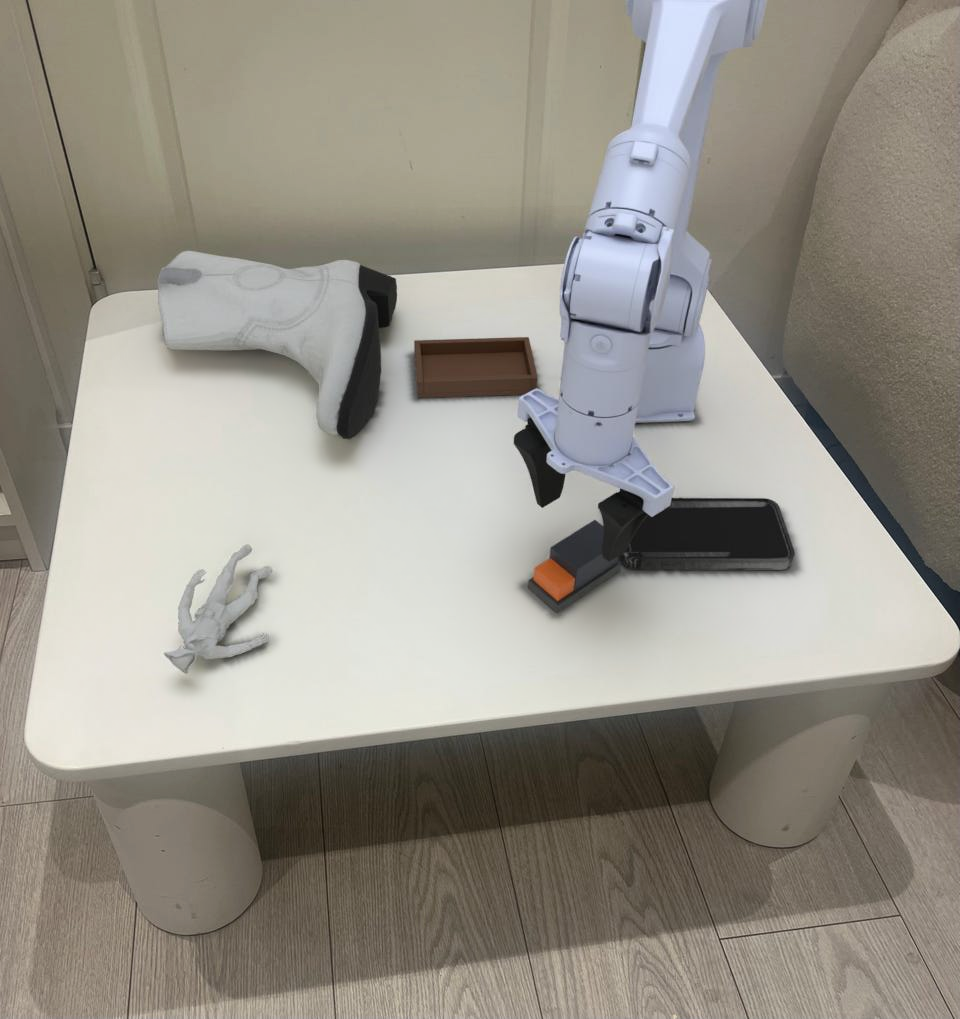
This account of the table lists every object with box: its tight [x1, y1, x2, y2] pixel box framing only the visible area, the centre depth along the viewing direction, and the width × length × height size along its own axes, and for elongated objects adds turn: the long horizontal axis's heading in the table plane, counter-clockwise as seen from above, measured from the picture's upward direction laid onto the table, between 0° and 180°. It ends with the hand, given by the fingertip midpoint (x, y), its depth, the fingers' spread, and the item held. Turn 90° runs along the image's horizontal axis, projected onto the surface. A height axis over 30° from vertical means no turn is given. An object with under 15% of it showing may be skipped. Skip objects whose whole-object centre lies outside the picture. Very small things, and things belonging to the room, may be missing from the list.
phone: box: [619, 497, 796, 571], centre depth 90 cm, size 8×1×15 cm
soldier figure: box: [163, 543, 274, 675], centre depth 80 cm, size 8×5×12 cm
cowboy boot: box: [157, 250, 398, 441], centre depth 103 cm, size 10×28×25 cm
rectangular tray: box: [413, 336, 539, 399], centre depth 105 cm, size 12×7×2 cm, turn 95°
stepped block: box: [527, 519, 622, 614], centre depth 85 cm, size 8×4×4 cm, turn 130°
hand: (580, 526), depth 82 cm, fingers open, 7 cm apart
